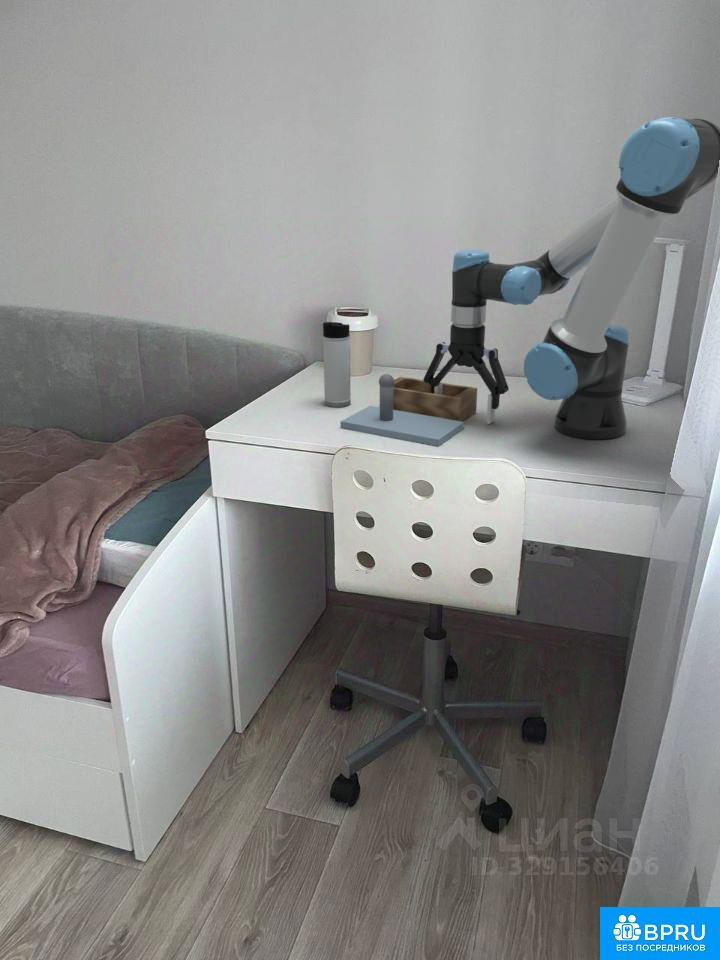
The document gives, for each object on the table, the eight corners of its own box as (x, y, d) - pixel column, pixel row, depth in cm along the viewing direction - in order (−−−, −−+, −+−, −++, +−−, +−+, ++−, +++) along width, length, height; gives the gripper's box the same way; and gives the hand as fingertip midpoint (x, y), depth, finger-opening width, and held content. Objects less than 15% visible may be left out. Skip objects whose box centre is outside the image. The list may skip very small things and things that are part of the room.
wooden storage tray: (476, 412, 185) (477, 387, 183) (458, 425, 177) (459, 399, 175) (400, 400, 195) (400, 376, 192) (380, 411, 187) (380, 386, 184)
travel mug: (318, 404, 192) (316, 321, 184) (338, 398, 197) (336, 317, 189) (336, 409, 188) (334, 325, 180) (356, 403, 192) (355, 321, 185)
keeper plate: (464, 428, 175) (466, 376, 171) (438, 446, 165) (440, 392, 160) (369, 411, 186) (369, 363, 182) (340, 427, 176) (339, 376, 172)
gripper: (527, 326, 170) (520, 421, 179) (425, 315, 182) (422, 404, 190) (515, 333, 164) (508, 430, 173) (410, 321, 176) (408, 413, 184)
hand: (463, 417), depth 182 cm, fingers open, 12 cm apart
